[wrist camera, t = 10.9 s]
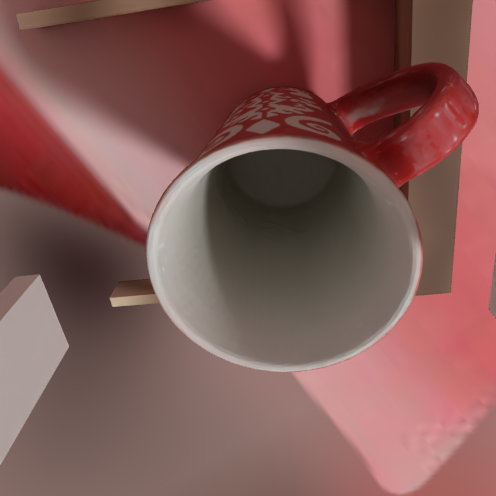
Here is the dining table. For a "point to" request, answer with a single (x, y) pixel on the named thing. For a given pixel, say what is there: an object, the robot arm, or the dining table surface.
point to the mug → (304, 221)
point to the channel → (406, 54)
